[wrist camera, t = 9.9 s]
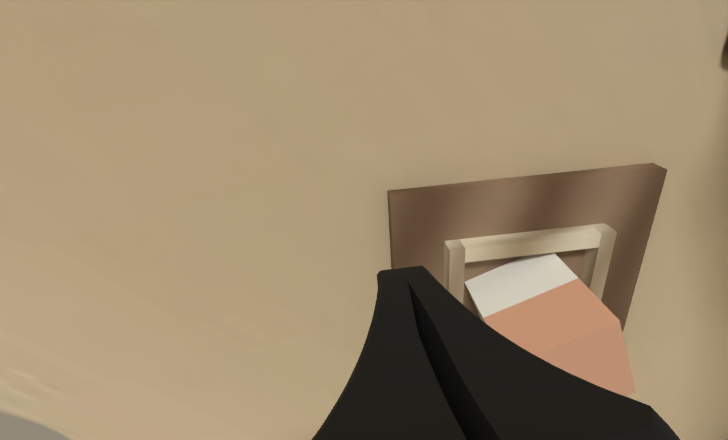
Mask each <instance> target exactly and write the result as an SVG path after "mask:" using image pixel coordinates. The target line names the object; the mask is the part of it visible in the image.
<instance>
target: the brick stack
mask: <svg viewBox="0 0 728 440" xmlns="http://www.w3.org/2000/svg"><path fill="white" fill-rule="evenodd" d="M464 283H465V285H466V287H467V289H468V292H469V294H470V296H471V299H472V301H473V303H474V305H475V308H476V310H477V312H478V314H479V317H480V319H481V320H482V321H483V322H485V323H486V324H487V325H489V326H490V327H491V328H493V329H494V330H495V331H497V332H498V333H500V334H501V335H503V336H504V337H506V338H507V339H509V340H511V341H512V342H514V343H515V344H517V345H518V346H520V347H522V348H523V349H525V350H527V351H528V352H530V353H532V354H534V355H536V356H537V357H539V358H541V359H543V360H545V361H547V362H548V363H550V364H552V365H554V366H556V367H558V368H560V369H562V370H564V371H566V372H568V373H570V374H572V375H575V376H577V377H579V378H581V379H584V380H586V381H588V382H590V383H592V384H595V385H597V386H599V387H602V388H604V389H607V390H609V391H612V392H615V393H617V394H620V395H623V396H627V395H630V394H632V393H635V392H636V391H635V387H634V382H633V378H632V373H631V369H630V365H629V360H628V356H627V351H626V347H625V342H624V338H623V333H622V329H621V325H620V320H619V319H618V318H617V317H616V316H615V315H614V314H613V313H612V312H611V311H610V310H609V309H608V308H607V307H606V306H605V305H604V304H603V303H602V302H601V301H600V300H599V299H598V298H597V297H596V295H595V294H594V293H593V292H592V291H591V290H590V289H589V288H588V287H587V286H586V285H585V284H584V283H583V282H582V281H581V280H580V279H579V278H578V277H577V276H576V275H575V274H574V273H573V272H572V271H571V270H570V269H569V268H568V267H567V266H566V265H565V263H564V262H563V261H562V260H561V259H560V258H559V257H558V256H557V255H556V254H555V253H545V254H536V255H528V256H523V257H521V258H519V259H516V260H514V261H512V262H509V263H507V264H505V265H502V266H500V267H498V268H495V269H493V270H491V271H488V272H486V273H484V274H481V275H479V276H477V277H475V278H472V279H470V280H468V281H465V282H464Z"/></svg>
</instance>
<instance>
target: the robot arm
mask: <svg viewBox="0 0 728 440" xmlns="http://www.w3.org/2000/svg"><path fill="white" fill-rule="evenodd" d="M377 281H378V293H377V300H376V305H375V310H374V315H373V319H372V322H371V326H370V329H369V332H368V335H367V339H366V342H365V344H364V347H363V350H362V352H361V355H360V357H359V359H358V362H357V364H356V366H355V368H354V371H353V373H352V375H351V377H350V379H349V381H348V383H347V385H346V387H345V389H344V390H343V392H342V394H341V396H340V397H339V399H338V401H337V402H336V404H335V406H334V407H333V409H332V411H331V412H330V414H329V415H328V417H327V419H326V420H325V422H324V423H323V425H322V426H321V428H320V429H319V431H318V432H317V433H316V435H315V436H314V437H313V439H312V440H680V439H679V438H678V436H677V435H676V434H675V433H674V431H673V430H672V429H671V428H670V427H669V425H668V424H667V423H666V422H665V421H664V420H663V419H662V418H661V417H660V416H659V415H658V414H657V413H656V412H655V411H654V410H653V409H652V408H651V406H649V405H646V404H644V403H641V402H638V401H636V400H633V399H630V398H628V397H625V396H623V395H620V394H617V393H615V392H612V391H609V390H607V389H604V388H602V387H599V386H597V385H595V384H592V383H590V382H588V381H586V380H584V379H581V378H579V377H577V376H575V375H572V374H570V373H568V372H566V371H564V370H562V369H560V368H558V367H556V366H554V365H552V364H550V363H548V362H547V361H545V360H543V359H541V358H539V357H537V356H536V355H534V354H532V353H530V352H528V351H527V350H525V349H523V348H522V347H520V346H518V345H517V344H515V343H514V342H512V341H511V340H509V339H507V338H506V337H504V336H503V335H501V334H500V333H498V332H497V331H495V330H494V329H493V328H491V327H490V326H489V325H487V324H486V323H485V322H483V321H482V320H481V319H480V318H478V317H477V316H476V315H475V314H473V313H472V312H471V311H470V310H469V309H467V308H466V307H465V306H464V305H463V304H462V303H461V302H460V301H458V300H457V299H456V298H455V297H454V296H453V295H452V294H451V293H450V292H449V291H448V290H447V289H446V288H444V287H443V286H442V285H441V284H440V283H439V282H438V281H437V280H436V279H435V277H434V276H433V275H432V274H431V273H430V272H429V271H428V270H427V269H426V268H425V267H423V266H422V265H421V266H414V267H406V268H398V269H390V270H382V271H380V272H379V273H378V274H377Z"/></svg>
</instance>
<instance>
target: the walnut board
mask: <svg viewBox="0 0 728 440" xmlns="http://www.w3.org/2000/svg"><path fill="white" fill-rule="evenodd" d="M666 173H667V169H665V168H663V167H660V166H658V165H656V164H654V163H650V164H640V165H631V166H621V167H612V168H602V169H592V170H583V171H573V172H564V173H554V174H545V175H535V176H525V177H516V178H506V179H497V180H487V181H477V182H468V183H458V184H449V185H439V186H430V187H420V188H410V189H401V190H391V191H388V210H389V229H390V248H391V267H392V269H398V268H406V267H414V266H421V265H422V266H423V267H425V268H426V269H427V270H428V271H429V272H430V273H431V274H432V275H433V276H434V277H435V279H436V280H437V281H438V282H439V283H440V284H441V285H442V286H443V287H444V288H446V289H447V290H448V291H449V292H450V293H451V294H452V295H453V296H454V297H455V298H456V299H457V300H458V301H460V302H461V303H462V304H463V305H464V306H465V307H466V308H467V309H469V310H470V311H471V312H472V313H473V314H475V315H476V316H477V317H478V318H480V317H479V314H478V312H477V310H476V308H475V305H474V303H473V301H472V299H471V296H470V294H469V292H468V289H467V287H466V285H465V283H464V282H465V281H468V280H470V279H472V278H475V277H477V276H479V275H481V274H484V273H486V272H488V271H491V270H493V269H495V268H498V267H500V266H502V265H505V264H507V263H509V262H512V261H514V260H516V259H519V258H521V257H523V256H528V255H536V254H545V253H555V254H556V255H557V256H558V257H559V258H560V259H561V260H562V261H563V262H564V263H565V265H566V266H567V267H568V268H569V269H570V270H571V271H572V272H573V273H574V274H575V275H576V276H577V277H578V278H579V279H580V280H581V281H582V282H583V283H584V284H585V285H586V286H587V287H588V288H589V289H590V290H591V291H592V292H593V293H594V294H595V295H596V297H597V298H598V299H599V300H600V301H601V302H602V303H603V304H604V305H605V306H606V307H607V308H608V309H609V310H610V311H611V312H612V313H613V314H614V315H615V316H616V317H617V318H618V319H619V320H620V325H621V329H622V333H623V329H624V326H625V322H626V318H627V315H628V311H629V307H630V304H631V300H632V296H633V293H634V289H635V285H636V282H637V278H638V275H639V271H640V267H641V264H642V260H643V256H644V253H645V249H646V245H647V242H648V238H649V234H650V231H651V227H652V224H653V220H654V216H655V213H656V209H657V205H658V202H659V198H660V194H661V191H662V187H663V183H664V180H665V176H666Z"/></svg>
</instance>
